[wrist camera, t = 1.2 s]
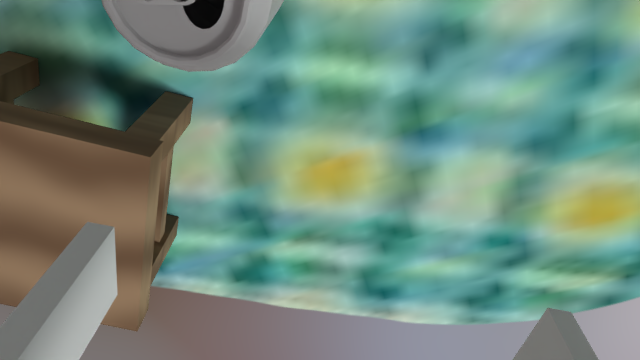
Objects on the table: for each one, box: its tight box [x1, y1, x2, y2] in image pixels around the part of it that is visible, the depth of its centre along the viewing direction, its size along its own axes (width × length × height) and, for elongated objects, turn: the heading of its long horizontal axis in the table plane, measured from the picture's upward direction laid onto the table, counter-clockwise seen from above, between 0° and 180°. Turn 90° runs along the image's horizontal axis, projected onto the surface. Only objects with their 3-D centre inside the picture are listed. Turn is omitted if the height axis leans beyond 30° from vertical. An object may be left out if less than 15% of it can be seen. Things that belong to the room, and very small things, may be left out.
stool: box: [0, 51, 193, 331], centre depth 31 cm, size 14×14×10 cm
